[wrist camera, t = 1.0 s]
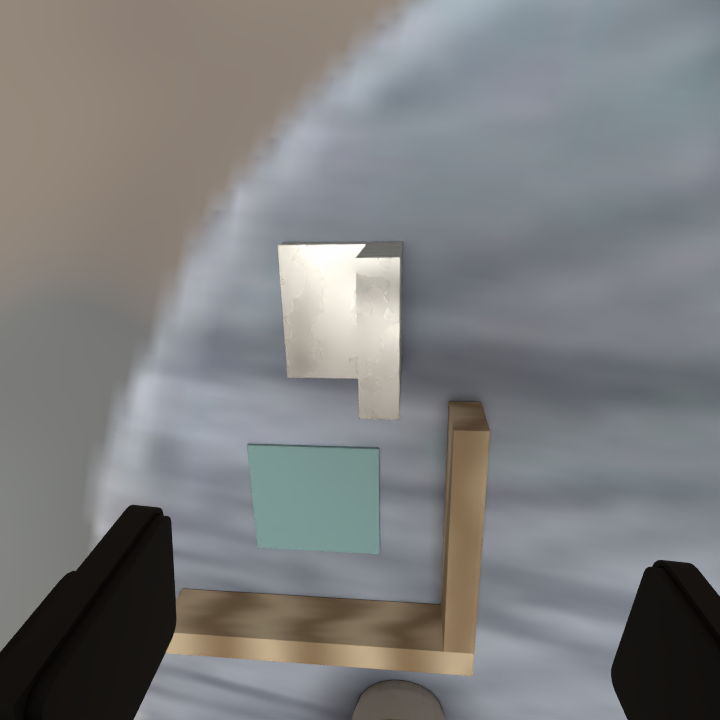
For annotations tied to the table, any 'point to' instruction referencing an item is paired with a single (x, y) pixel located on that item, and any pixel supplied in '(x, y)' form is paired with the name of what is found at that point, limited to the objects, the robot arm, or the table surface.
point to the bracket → (346, 317)
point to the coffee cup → (397, 703)
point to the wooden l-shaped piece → (365, 617)
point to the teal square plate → (316, 497)
